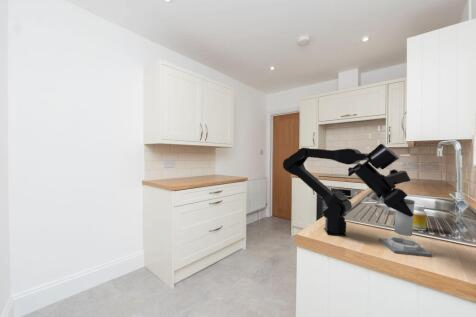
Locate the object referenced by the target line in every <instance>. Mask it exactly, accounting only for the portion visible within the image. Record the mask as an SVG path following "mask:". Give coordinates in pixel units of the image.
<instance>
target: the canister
mask: <svg viewBox="0 0 476 317" xmlns="http://www.w3.org/2000/svg"><path fill="white" fill-rule="evenodd" d="M404 201H405V203H406V205H407V206H408V207H409V209H410V210H411V212H412V213H413V216H414V204H415V202H416V201H415V200H413V199H407V198H404ZM415 205H416V204H415ZM413 216H412V217H410V216H407V215H405V214H403V213H401V212H399V211H397V210H395V216H394V218H395V219H394V233H395V234H398V235H401V236H404V237H405V236H406V237H413V230H414V229H413Z"/></svg>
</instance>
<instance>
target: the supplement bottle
mask: <svg viewBox="0 0 476 317" xmlns="http://www.w3.org/2000/svg"><path fill="white" fill-rule="evenodd" d="M425 209H426V206H424V205H422V204H414V216H413V230H416V231H423V232H424V231H426V230H427V218H428V217H427V214H428V213H427V212H426V211H425Z"/></svg>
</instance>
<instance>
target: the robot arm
mask: <svg viewBox="0 0 476 317" xmlns="http://www.w3.org/2000/svg"><path fill="white" fill-rule="evenodd" d="M308 158H315V159H323V160H331V161H335V162H337V163H340V164H344V165H355V166H353V167H348V169H347V170H348V174H347V176H348V177H351V176H352V175H355V176H357V178H359V179H360V180H361V182H363V183H364V184H365V185H366V186H367V188H369V189H370V190H371V191H372V192H373V194H374V195H375V196H376V197H377V198H378V199H380V198H381V199H380V200H381V202H382V203H384V205H385V206H386V207H387V208H390V209H393V210H395V211H396V210H397V211H399V212H401V213H403V214H405V215H407V216H410V217H412V216H413V213H412V212H411V210H410V209H409V207H408V206H407V205H406V203H405V201H404V199H406V197H408V194H407V193H406V192H405V191H404V190H403V189H401V188H396V187H397V186H396V185H398V184H402V183H408V182H410V181H411V180H412V179H411V178H410V176H409V174H408V173H407V171H406V170H399V171H398V170H397V169H391V170H389V174H387V175H385V174H383V173H380V172H379V171H378V170H379V169H380V170H385V169H386V168H387V167H389V166H390V165H392V164H393V163H394V162H396V161H398V160H399V159H400V157H399V156H398V155H397V154H396V153H395V151H393V150H391V149H390V148H388V147H387V146H386V145H385V144H383V143H380V144H378V145H377V146H376V147H375V148H374V149H373V150H371V151H370V152H369V153H365V152H364V153H363V152H361V151H360V150H359V149H355V148H342V149H341V148H340V149H320V148H309V147H301V148H299V150H297V151H296V152H294V153H293V154H291V155H290V156H288V158H285V159H283V162H282V168H283V169H284V170H285V172H288V173H290V174H291V175H294V176H296V177H298V178H299V179H300V181H303V183H305V184H306V185H307V186H308V187H309V188H310V189H311V190H312V191H314V192H315V193H316V194H317V195H318V196H319V197H320V198H321V199H322V200H323V201H324V204H325V205H326V207H327V208H326V209H324V210H323V211H322V214H323V216H324V217H323V218H324V219H325V224H324V226H325V227H323V230H324V231H325V233H326V235H330V236H341V237H346V236H347V234H346V233H347V221H346V218H345V217H346V216H347V214H348V213H350V212H351V210H352V208H353V207H352V206H353V205H352V201H351V200H350V198H349V197H348V196H346V195H344V193H343V192H342V191H335V192H334V191H332V190H331V189H330V188H329V187H327V186H326V184H324V183H323V182H321V181H320V180H319V179H318V178H317V177H316V176H314V175H313V174H312V173H311V172H310V171H308V170H307V169H306V166H305V162H306V161H307V160H308ZM363 161H364V162H363ZM360 162H363V163H360Z"/></svg>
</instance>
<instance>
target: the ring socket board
mask: <svg viewBox="0 0 476 317" xmlns="http://www.w3.org/2000/svg"><path fill="white" fill-rule="evenodd" d="M378 240H379V241H380V242H381V243H382V244H383V245H385V246H386V247H387V248H388V249H389V250H390V251H391V252H392V253H394V254H402V255H410V256H421V257H430V258H432V255H433V254H432V253H430V252H429V251H428V250H426V249H424V248H423V247H422V246H421V244H420V243H418V242H416V241H415V240H412V239H409V238H405V237H401V236H389V237H387V238H386V237H378Z"/></svg>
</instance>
